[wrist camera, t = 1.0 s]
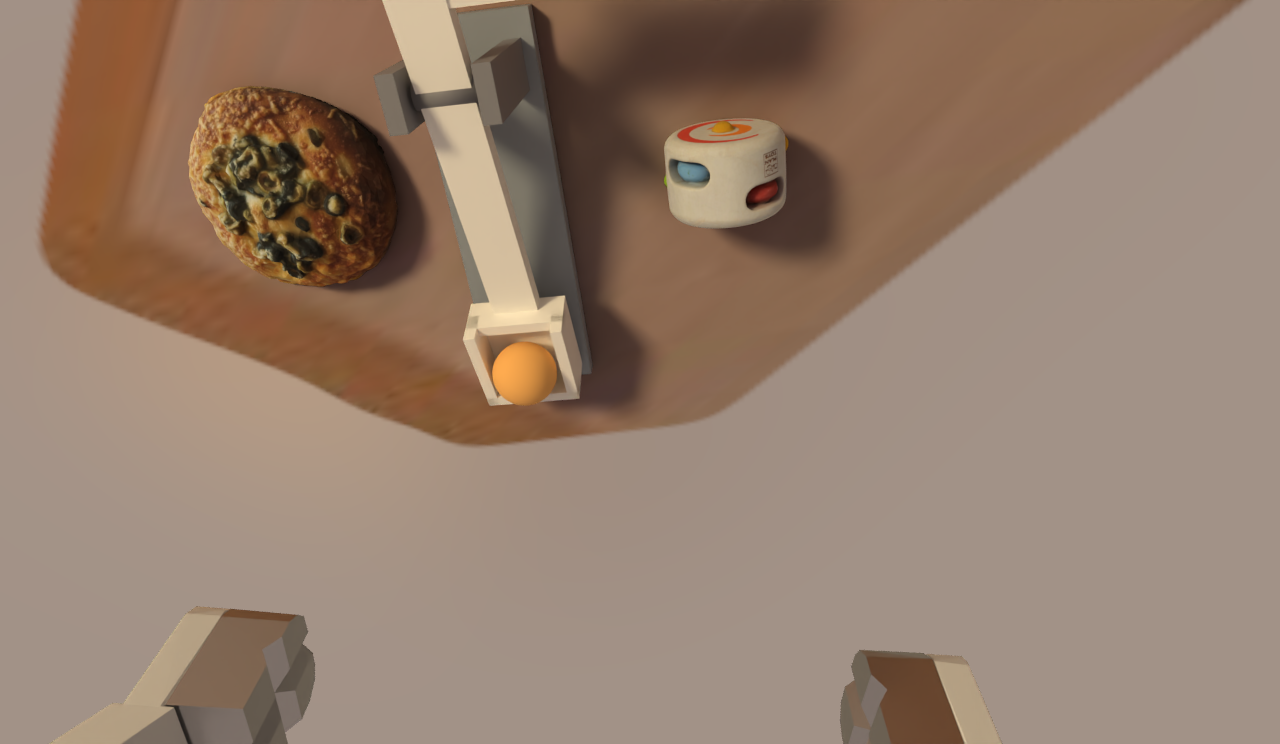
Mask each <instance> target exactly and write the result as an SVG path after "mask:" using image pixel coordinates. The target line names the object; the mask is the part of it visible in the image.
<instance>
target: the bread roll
mask: <svg viewBox="0 0 1280 744" xmlns="http://www.w3.org/2000/svg"><path fill="white" fill-rule="evenodd" d="M346 114H347V113H345V114H344V113H343V112H341V111H340V110H339V109H338V108H337V107H334V106H332V105H329V104H328V103H326V102H322V101H321V100H319V99H316V98H314V97H310V96H306V95H303V94H298V93H295V92H292V91H286V90H282V89H275V88H269V87H254V86H248V87H239V88H235V89H232V90H229V91H226V92H222V93H219V94H217V95H215V96H213V97H211V98H210V99H209V101H208V102H207V103H206V104H205V110H204V112H203V114H202V116H201V117H200V118H199V125H198V128H197V130H196V131H195V133H194V137H193V140H192V142H191V148H190V157H189V161H188V164H189V167H190V171H189V178H190V180H191V185H192V189H193V190H194V193H195V197H196V199H197V201H198V203H199V205H200V207H201V208H202V210H203V214H204V215H205V216H206V217H207V218H208V219H209V220H210V222H211V223H212V224H213V226H214V229H215V231H216V234H217V236H218V237H219V239H220V240H221V242H222V243H223V244H224V245H225V246H226V247H228V248H229V249H230V250H231V251H232V252H233V253H234V254H235V255H236V256H237V257H238V258H239V259H240V261H242V262H243V263H244V264H245V265H247V266H249V267H250V268H251V269H253V270H255V271H257V272H259V273H260V274H262V275H264V276H266V277H268V278H270V279H278V280H279V281H280V282H285V283H291V284H300V285H306V286H308V285H311V286H318V287H323V286H326V285H331V284H334V283H347V282H348V281H349V280H355V279H358V278H359V277H360V276H361V275H363V273H364V272H366V271H368V270H370V269H372V268H374V267H375V266H377V265H378V263H379V262H380V260H381V259H382V257H383V256H384V255H385V253H386V251H387V249H388V247H389V244H390V241H391V238H392V235H393V232H394V230H395V226H396V221H397V212H398V210H397V204H396V202H395V192H396V191H395V188H394V184H393V181H392V177H391V174H390V171H389V169H388V167H387V164H386V163H385V160H384V157H383V153H384V152H383V150H382V148H381V146H379V145H378V143H377V138H376V137H375V136H374V135H373V134H372V133H371V132H369V131H368V130H367V129H366V128H365V127H364V126H362V125H361V124H360V123H359V122H358V121H357V120H356V119H354V117H352V116H351V115H349V114H347V115H346Z"/></svg>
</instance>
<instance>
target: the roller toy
mask: <svg viewBox="0 0 1280 744" xmlns="http://www.w3.org/2000/svg"><path fill="white" fill-rule="evenodd" d="M787 148H788V139H787V137H786V136H785V135H784V132H783V130H782V129H781V128H780V127H779V126H778V125H777V124H775V123H773V122H770V121H766V120H761V119H751V118H735V119H722V120H713V121H707V122H702V123H697V124H693V125H690V126H687V127H684V128H681V129H679V130H677V131H675V132H674V133H673V134H671V135H670V136H669V138H668V139H667V140H666V142H665V146H664V154H665V166H666V175H665V178H664V183H665V185H666V187H667V189H668V198H669V207H670V211H671V212H672V214H673V215H674V217H675V218H677V219H678V220H679V221H680V222H682V223H684V224H687V225H690V226H694V227H700V228H733V227H740V226H745V225H750V224H754V223H757V222H760V221H763V220H765V219H767V218H769V217H771V216H773V215H775V214H776V213H777V212H778V211H779V210H780V209H781V208H782V207H783V205H784V203H785V200H786V150H787Z"/></svg>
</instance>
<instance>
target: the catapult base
mask: <svg viewBox="0 0 1280 744" xmlns="http://www.w3.org/2000/svg"><path fill="white" fill-rule="evenodd" d="M457 15H458V18H459V22H460V25H461V29H462V32H463V36H464V39H465V43H466V46H467V49H468V53H469V56H470V60H471V64H470V65H471V70H472V74H473V79H474V84H475V88H476V93H477V98H478V102H479V107H480V112H481V116H482V121H483V126H487V125H490V129H491V132H492V136H493V139H494V143H495V146H496V149H497V153H498V156H499V160H500V163H501V167H502V170H503V174H504V177H505V181H506V184H507V187H508V191H509V194H510V198H511V201H512V205H513V208H514V212H515V215H516V218H517V222H518V225H519V229H520V232H521V236H522V239H523V243H524V246H525V250H526V253H527V256H528V260H529V263H530V267H531V270H532V274H533V277H534V281H535V284H536V287H537V291H538V294H539V298H543V297H554V296H565V298H566V302H567V306H568V309H569V313H570V317H571V321H572V325H573V329H574V333H575V337H576V341H577V344H578V348H579V352H580V356H581V360H582V372H581V375H583V374H591V372H592V366H593V364H592V358H591V352H590V347H589V341H588V335H587V329H586V323H585V317H584V311H583V305H582V300H581V294H580V288H579V282H578V276H577V270H576V264H575V258H574V253H573V247H572V241H571V235H570V229H569V223H568V217H567V211H566V205H565V200H564V194H563V188H562V182H561V176H560V170H559V164H558V158H557V153H556V147H555V141H554V135H553V129H552V123H551V117H550V111H549V106H548V100H547V94H546V88H545V82H544V76H543V70H542V64H541V58H540V53H539V47H538V41H537V35H536V29H535V23H534V17H533V11H532V6H531V4H525V5H517V6H509V7H501V8H493V9H485V10H477V11H469V12H461V13H457ZM374 80H375V84H376V87H377V91H378V95H379V98H380V102H381V105H382V109H383V113H384V116H385V120H386V123H387V127H388V131H389V134H390V136H398V135H407V134H410V133H411V132H412V131H413V130H414V129H416V128H417V127H418V126H419V125H420V124H422V123H423V122H424V121H425V119H424V116H423V114H422V111H417V110H416V108H415V107H414V104H413V101H412V97H411V90H410V88H411V80H410V77H409V74H408V71H407V69H406V66H405V63H404V60H402V61H400V62H398V63H396V64H394V65H393V66H391V67H389V68H387V69H385V70H383V71H381V72H380V73H378V74H376V75H374ZM435 151H436V150H435ZM436 155H437V153H436ZM437 159H438V156H437ZM438 163H439V167H440V171H441V175H442V179H443V183H444V187H445V191H446V195H447V199H448V203H449V207H450V211H451V215H452V219H453V223H454V227H455V231H456V235H457V239H458V243H459V247H460V251H461V256H462V260H463V264H464V268H465V272H466V276H467V280H468V284H469V288H470V292H471V296H472V300H473V304H476V303H488V302H489V299H488V297H487V294H486V291H485V288H484V285H483V282H482V280H481V277H480V274H479V271H478V268H477V266H476V263H475V260H474V257H473V254H472V252H471V249H470V246H469V243H468V240H467V237H466V235H465V232H464V229H463V226H462V223H461V221H460V218H459V215H458V212H457V209H456V206H455V204H454V201H453V198H452V195H451V192H450V190H449V187H448V184H447V181H446V178H445V176H444V173H443V170H442V167H441V164H440V161H439V159H438Z"/></svg>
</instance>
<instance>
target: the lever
mask: <svg viewBox="0 0 1280 744" xmlns="http://www.w3.org/2000/svg"><path fill="white" fill-rule="evenodd" d="M382 1H383V4H384V7H385V9H386V12H387V15H388V18H389V21H390V24H391V26H392V29H393V32H394V35H395V38H396V40H397V43H398V46H399V49H400V52H401V55H402V57H403V60H404V63H405V66H406V69H407V71H408V74H409V77H410V80H411V88H410V90H411V97H412V101H413V104H414V107H415V108H416V110H417V111H422V114H423V116H424V119H425V122H426V125H427V128H428V131H429V133H430V136H431V139H432V142H433V145H434V147H435V150H436V153H437V156H438V159H439V161H440V164H441V167H442V170H443V173H444V176H445V178H446V181H447V184H448V187H449V190H450V192H451V195H452V198H453V201H454V204H455V206H456V209H457V212H458V215H459V218H460V221H461V223H462V226H463V229H464V232H465V235H466V237H467V240H468V243H469V246H470V249H471V252H472V254H473V257H474V260H475V263H476V266H477V268H478V271H479V274H480V277H481V280H482V282H483V285H484V288H485V291H486V294H487V297H488V299H489V302H488V303H476V304H471V307H470V312H469V316H468V320H467V325H466V329H465V333H464V338H463V341H464V344H465V346H466V349H467V351H468V354H469V356H470V359H471V361H472V363H473V366H474V368H475V371H476V373H477V376H478V378H479V381H480V383H481V385H482V388H483V390H484V393H485V395H486V398H487V400H488V403H489V405H490V406H491V405H504V404H513V403H511V402H509V401H507V400H506V399H504V398H503V397H502V396H501V395H500V394H499V392H498V391H497V389H496V387H495V385H494V382H493V375H492V371H493V365H494V362H495V360H496V358H497V356H498V355H499V354H500V352H501V351H502V350H503V349H505V348H506V347H507V346H509V345H511V344H514V343H517V342H533V343H536V344H538V345H540V346H542V347H543V348H545V349H546V350H547V351H548V352H549V353H550V354H551V356H552V357H553V359H554V361H555V364H556V368H557V380H556V383H555V386H554V388H553V390H552V392H551V393H550V394H549V395H548V396H547V397H546V398H545V399H544V400H542V401H541V402H543V401H556V400H569V399H579V398H580V385H581V372H582V360H581V356H580V352H579V348H578V344H577V341H576V337H575V333H574V329H573V325H572V321H571V317H570V313H569V309H568V306H567V302H566V298H565V296H554V297H543V298H539V294H538V291H537V287H536V284H535V281H534V277H533V274H532V270H531V267H530V263H529V260H528V256H527V253H526V250H525V246H524V243H523V239H522V236H521V232H520V229H519V225H518V222H517V218H516V215H515V212H514V208H513V205H512V201H511V198H510V194H509V191H508V187H507V184H506V181H505V177H504V174H503V170H502V167H501V163H500V160H499V156H498V153H497V149H496V146H495V143H494V139H493V136H492V132H491V129H490V125H487V126H483V121H482V116H481V112H480V107H479V102H478V98H477V93H476V88H475V84H474V79H473V74H472V70H471V65H470V64H471V60H470V56H469V53H468V49H467V46H466V43H465V39H464V36H463V32H462V29H461V25H460V22H459V18H458V15H457V12H456V8H458V7H465V6H473V5H481V4H489V3H497V2H505V1H513V0H382Z"/></svg>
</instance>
